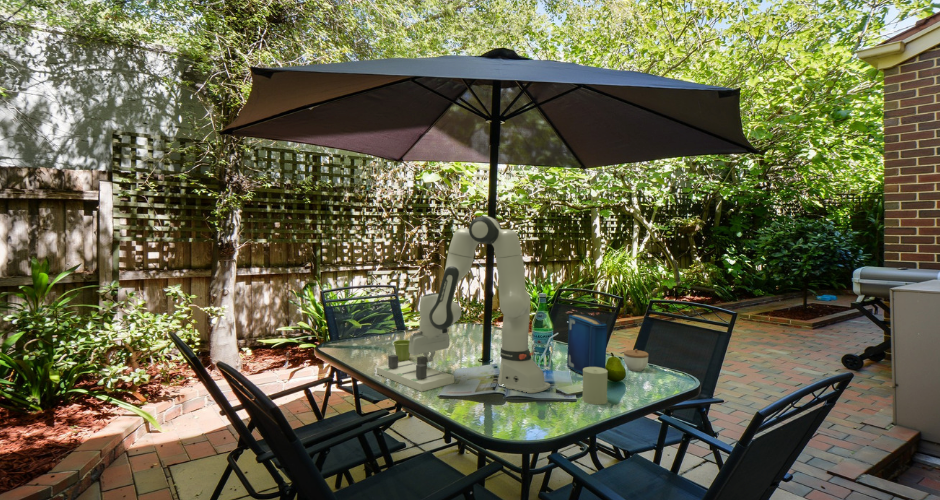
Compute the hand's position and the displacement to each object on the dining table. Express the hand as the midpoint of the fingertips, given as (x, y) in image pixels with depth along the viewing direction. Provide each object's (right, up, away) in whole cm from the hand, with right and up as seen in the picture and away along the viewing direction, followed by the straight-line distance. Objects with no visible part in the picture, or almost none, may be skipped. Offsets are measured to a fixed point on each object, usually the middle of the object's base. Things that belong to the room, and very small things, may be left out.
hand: (429, 361), depth 223 cm
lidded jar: (+94, -6, +11) cm, 94 cm away
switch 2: (-2, -3, -16) cm, 16 cm away
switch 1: (-16, -2, -1) cm, 16 cm away
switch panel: (-6, -6, -5) cm, 10 cm away
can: (+65, -8, -31) cm, 72 cm away
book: (+69, -6, +3) cm, 70 cm away
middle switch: (-3, -2, -3) cm, 5 cm away
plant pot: (-15, -5, +25) cm, 29 cm away
